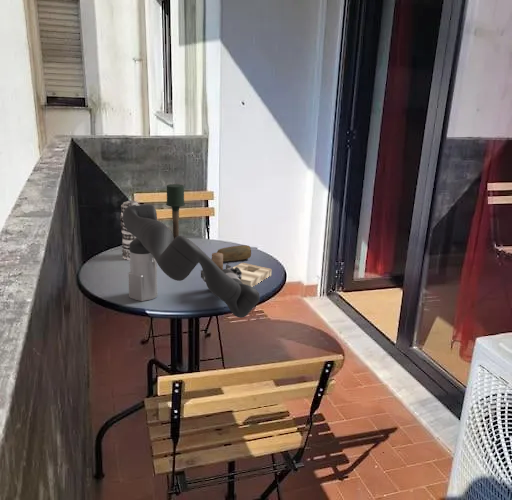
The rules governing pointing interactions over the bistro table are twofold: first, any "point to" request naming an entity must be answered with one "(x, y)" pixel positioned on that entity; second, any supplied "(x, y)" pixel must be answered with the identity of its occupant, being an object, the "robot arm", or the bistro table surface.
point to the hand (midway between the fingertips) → (215, 267)
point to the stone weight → (235, 253)
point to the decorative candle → (126, 231)
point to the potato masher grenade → (175, 204)
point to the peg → (218, 259)
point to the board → (253, 273)
